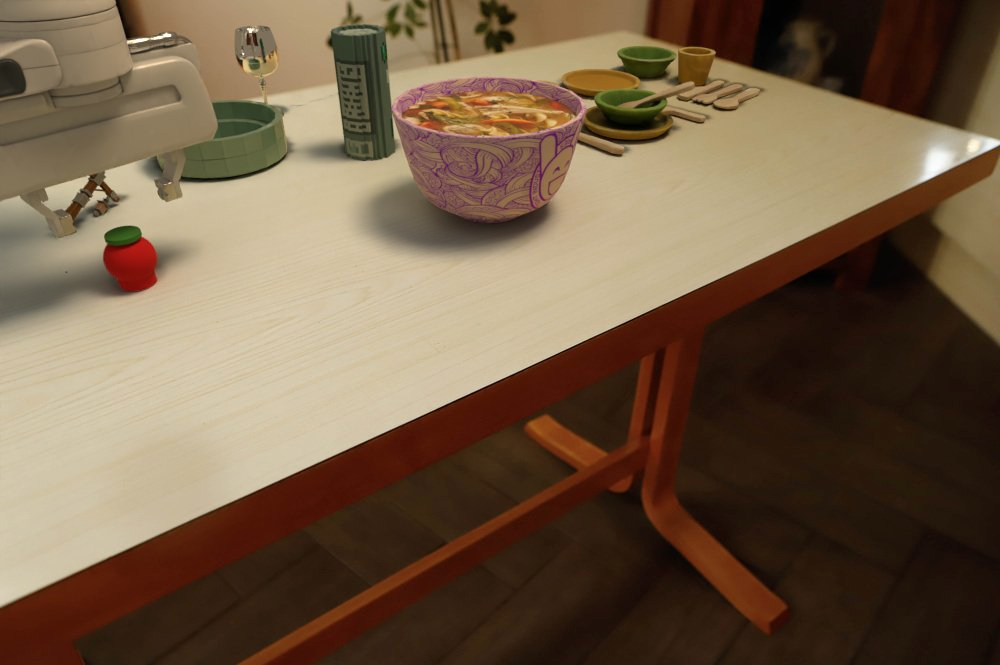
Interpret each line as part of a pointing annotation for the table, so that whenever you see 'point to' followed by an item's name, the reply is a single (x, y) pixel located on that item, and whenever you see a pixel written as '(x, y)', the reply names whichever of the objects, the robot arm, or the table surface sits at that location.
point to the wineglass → (256, 53)
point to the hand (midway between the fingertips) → (120, 215)
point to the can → (364, 90)
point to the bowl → (237, 141)
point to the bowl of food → (489, 143)
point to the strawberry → (130, 258)
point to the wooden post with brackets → (87, 192)
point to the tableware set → (646, 94)
